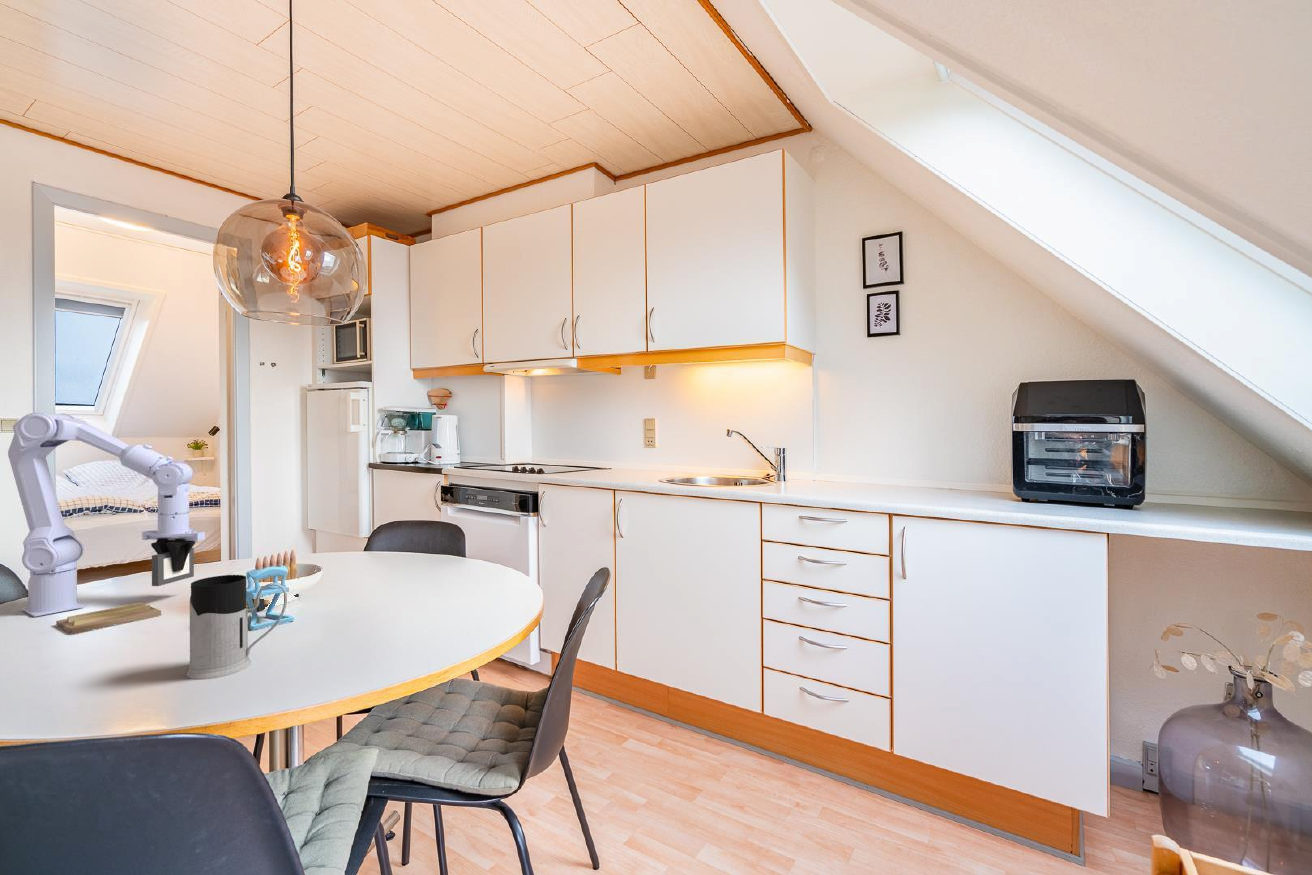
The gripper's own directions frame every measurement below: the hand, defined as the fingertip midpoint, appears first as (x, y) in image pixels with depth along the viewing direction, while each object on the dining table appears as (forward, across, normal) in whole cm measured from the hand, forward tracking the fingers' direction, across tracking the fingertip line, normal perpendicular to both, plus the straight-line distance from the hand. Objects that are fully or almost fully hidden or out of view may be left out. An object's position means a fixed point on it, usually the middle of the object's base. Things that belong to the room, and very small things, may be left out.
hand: (173, 570), depth 136 cm
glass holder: (+7, -47, +33) cm, 57 cm away
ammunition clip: (+7, -26, 0) cm, 27 cm away
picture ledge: (+7, 0, +14) cm, 16 cm away
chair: (+7, -34, +11) cm, 36 cm away
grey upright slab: (+2, 0, 0) cm, 3 cm away
